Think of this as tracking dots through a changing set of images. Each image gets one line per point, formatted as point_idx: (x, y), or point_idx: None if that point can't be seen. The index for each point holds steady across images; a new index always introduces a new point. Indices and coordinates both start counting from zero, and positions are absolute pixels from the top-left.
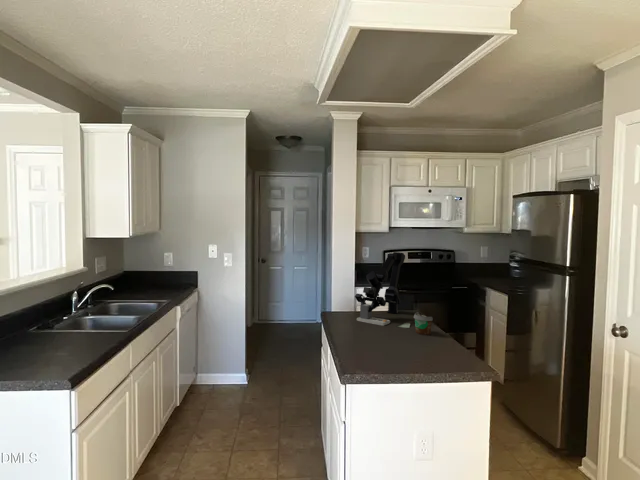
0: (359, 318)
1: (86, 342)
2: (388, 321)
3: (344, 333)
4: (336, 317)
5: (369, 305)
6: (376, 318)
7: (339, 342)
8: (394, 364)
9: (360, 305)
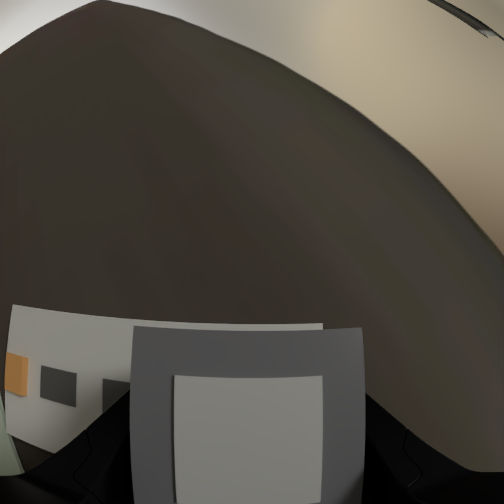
0: (286, 325)
1: (445, 6)
2: (8, 403)
3: (206, 71)
4: (500, 337)
5: (157, 463)
6: None
7: (169, 26)
8: (23, 46)
9: (353, 328)
